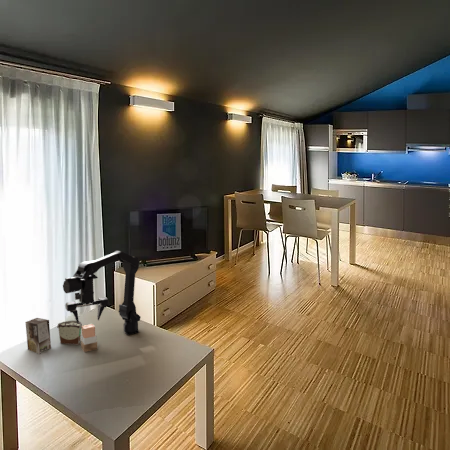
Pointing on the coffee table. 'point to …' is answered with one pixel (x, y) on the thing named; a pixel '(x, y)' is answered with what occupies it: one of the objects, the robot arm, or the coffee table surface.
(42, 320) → the coffee box
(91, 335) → the clay block
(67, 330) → the food container
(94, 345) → the walnut block
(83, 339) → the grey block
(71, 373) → the coffee table surface
